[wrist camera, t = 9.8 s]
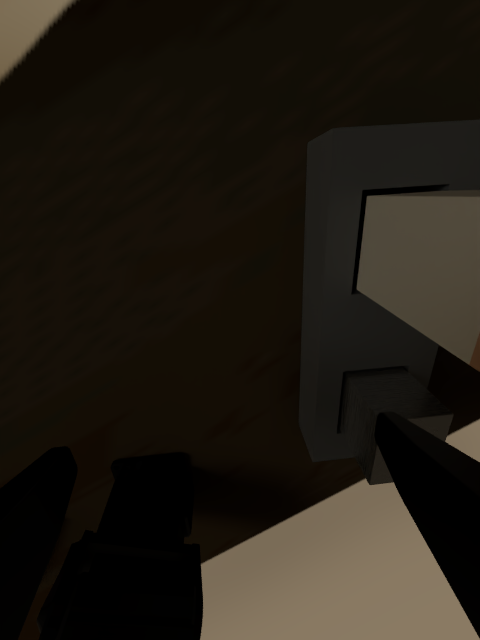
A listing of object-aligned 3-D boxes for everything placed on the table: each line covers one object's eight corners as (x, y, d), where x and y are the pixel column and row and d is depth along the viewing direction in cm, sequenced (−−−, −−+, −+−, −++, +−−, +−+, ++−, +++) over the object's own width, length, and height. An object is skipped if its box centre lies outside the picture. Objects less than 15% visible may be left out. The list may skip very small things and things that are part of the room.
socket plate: (298, 424, 26) (312, 461, 22) (307, 142, 17) (333, 128, 13) (383, 414, 26) (411, 450, 22) (437, 134, 17) (498, 118, 13)
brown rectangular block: (356, 289, 16) (497, 383, 8) (367, 196, 14) (569, 197, 6) (422, 283, 17) (624, 370, 8) (442, 190, 15) (736, 185, 6)
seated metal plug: (323, 397, 24) (369, 484, 17) (327, 347, 22) (381, 422, 15) (368, 393, 24) (433, 477, 17) (376, 342, 22) (453, 414, 15)
